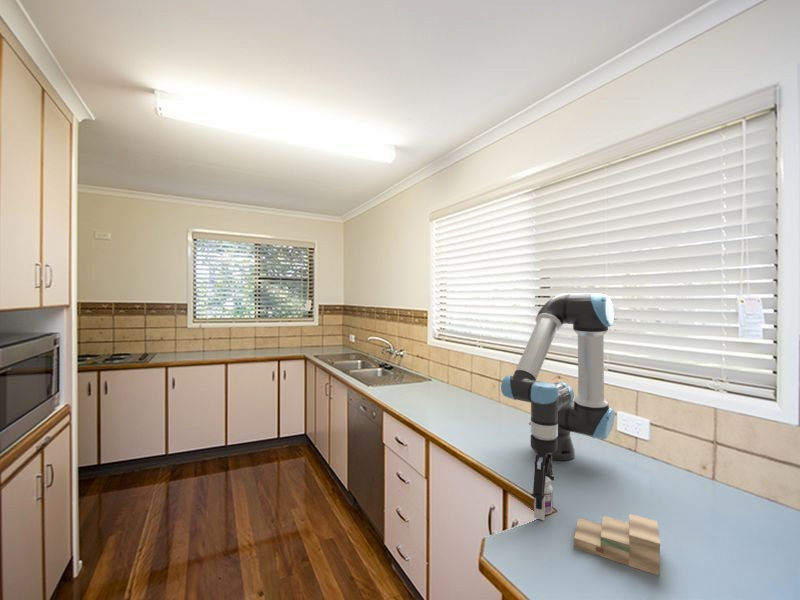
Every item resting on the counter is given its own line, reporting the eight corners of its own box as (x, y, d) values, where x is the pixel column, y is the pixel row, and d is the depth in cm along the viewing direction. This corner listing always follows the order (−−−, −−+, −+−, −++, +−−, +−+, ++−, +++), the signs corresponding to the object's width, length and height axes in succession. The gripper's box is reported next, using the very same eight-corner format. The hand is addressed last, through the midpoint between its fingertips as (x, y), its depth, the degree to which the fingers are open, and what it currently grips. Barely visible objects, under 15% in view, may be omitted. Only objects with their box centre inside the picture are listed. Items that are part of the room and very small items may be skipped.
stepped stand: (578, 526, 104) (578, 499, 104) (656, 550, 95) (657, 521, 94) (573, 548, 95) (574, 519, 95) (659, 576, 86) (660, 544, 86)
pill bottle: (537, 502, 116) (537, 472, 115) (555, 509, 112) (555, 477, 112) (530, 510, 112) (531, 478, 111) (549, 517, 108) (549, 484, 108)
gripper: (538, 421, 123) (537, 488, 123) (521, 446, 104) (520, 525, 104) (563, 426, 119) (562, 495, 119) (550, 452, 100) (549, 534, 100)
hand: (543, 509), depth 112 cm, fingers open, 10 cm apart
